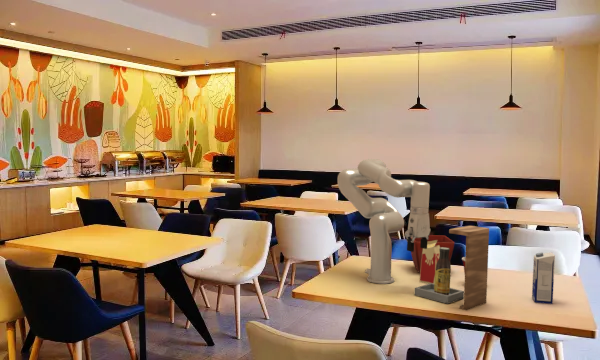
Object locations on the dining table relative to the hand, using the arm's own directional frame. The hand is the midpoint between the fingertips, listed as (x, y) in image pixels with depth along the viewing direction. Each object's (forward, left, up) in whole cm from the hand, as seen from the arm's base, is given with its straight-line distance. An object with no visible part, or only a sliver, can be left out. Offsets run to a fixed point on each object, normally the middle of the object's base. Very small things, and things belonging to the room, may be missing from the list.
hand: (417, 249), depth 225 cm
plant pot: (-17, +35, -18) cm, 43 cm away
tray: (+12, 0, -18) cm, 21 cm away
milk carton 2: (+42, +28, -18) cm, 54 cm away
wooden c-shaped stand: (+24, 0, -18) cm, 30 cm away
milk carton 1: (-5, +18, -18) cm, 26 cm away
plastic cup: (+11, +28, -18) cm, 36 cm away
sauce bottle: (+13, 0, -17) cm, 22 cm away
